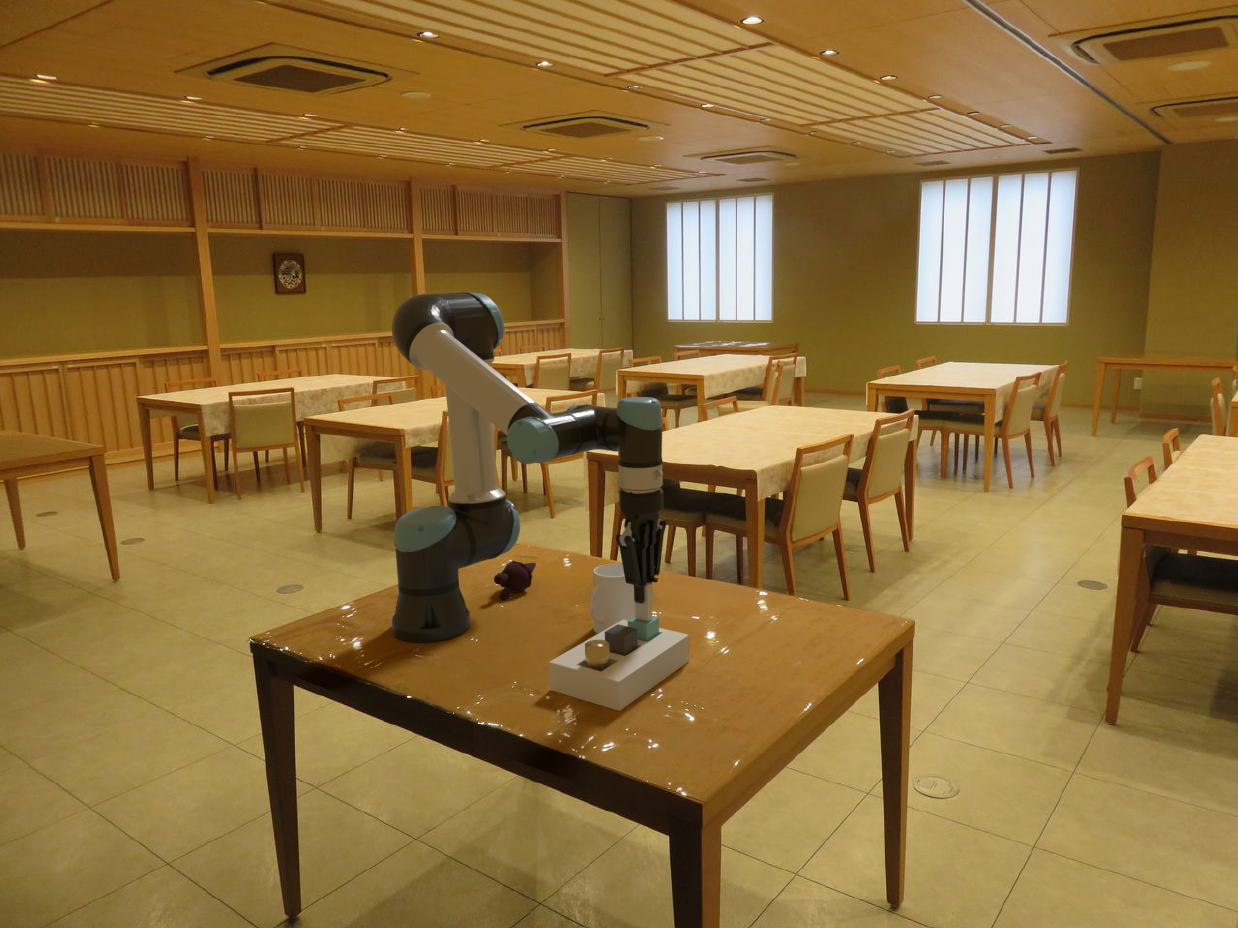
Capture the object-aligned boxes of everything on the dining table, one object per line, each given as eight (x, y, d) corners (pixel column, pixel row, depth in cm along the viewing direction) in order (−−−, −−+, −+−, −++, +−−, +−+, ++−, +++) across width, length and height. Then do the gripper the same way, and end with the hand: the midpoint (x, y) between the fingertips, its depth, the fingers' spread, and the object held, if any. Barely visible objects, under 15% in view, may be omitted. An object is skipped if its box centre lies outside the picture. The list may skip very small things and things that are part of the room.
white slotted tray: (550, 689, 150) (549, 661, 149) (623, 644, 168) (623, 619, 167) (619, 710, 143) (618, 681, 142) (689, 661, 160) (689, 634, 159)
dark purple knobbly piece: (517, 551, 206) (479, 576, 193) (543, 547, 202) (506, 572, 189) (526, 579, 207) (489, 606, 194) (552, 575, 203) (516, 603, 190)
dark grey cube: (605, 656, 154) (604, 631, 153) (618, 648, 157) (617, 624, 157) (624, 661, 152) (624, 636, 151) (637, 653, 155) (637, 628, 154)
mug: (604, 646, 168) (603, 584, 165) (572, 634, 173) (570, 575, 171) (646, 627, 176) (645, 568, 174) (614, 617, 182) (612, 560, 179)
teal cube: (628, 644, 160) (627, 620, 159) (640, 637, 163) (639, 613, 162) (647, 649, 158) (646, 625, 157) (659, 641, 161) (658, 617, 160)
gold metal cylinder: (580, 671, 149) (580, 645, 148) (595, 662, 152) (594, 637, 151) (600, 677, 146) (599, 651, 145) (614, 668, 150) (614, 642, 149)
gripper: (638, 498, 147) (641, 634, 152) (679, 483, 158) (680, 610, 163) (601, 493, 151) (605, 626, 156) (643, 478, 162) (645, 603, 167)
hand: (643, 618), depth 159 cm, fingers closed
